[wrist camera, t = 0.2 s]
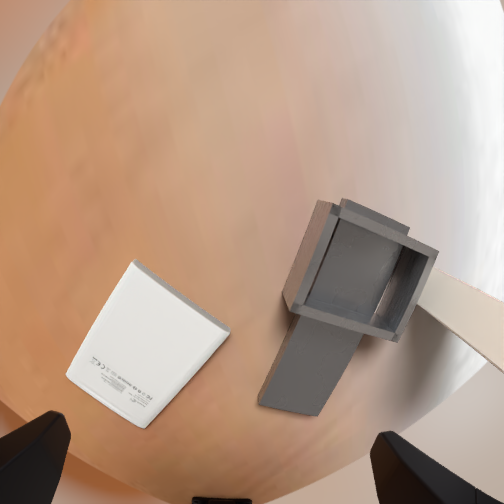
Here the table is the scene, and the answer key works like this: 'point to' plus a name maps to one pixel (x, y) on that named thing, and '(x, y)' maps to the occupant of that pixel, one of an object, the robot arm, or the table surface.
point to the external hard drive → (144, 346)
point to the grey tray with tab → (342, 300)
